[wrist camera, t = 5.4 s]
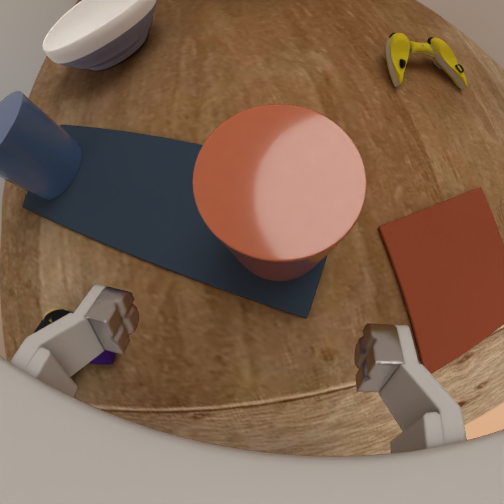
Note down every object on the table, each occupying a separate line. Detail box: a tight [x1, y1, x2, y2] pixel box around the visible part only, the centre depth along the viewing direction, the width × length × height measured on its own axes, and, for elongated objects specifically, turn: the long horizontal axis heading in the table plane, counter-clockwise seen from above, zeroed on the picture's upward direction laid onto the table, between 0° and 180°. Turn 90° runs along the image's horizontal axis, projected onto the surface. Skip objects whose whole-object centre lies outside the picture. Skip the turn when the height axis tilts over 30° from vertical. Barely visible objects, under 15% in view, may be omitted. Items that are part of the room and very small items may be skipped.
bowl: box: [42, 0, 156, 70], centre depth 23 cm, size 14×14×8 cm
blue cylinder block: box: [0, 91, 82, 200], centre depth 18 cm, size 7×7×10 cm
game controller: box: [385, 33, 467, 89], centre depth 21 cm, size 10×6×4 cm, turn 102°
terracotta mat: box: [378, 187, 504, 373], centre depth 18 cm, size 12×12×1 cm
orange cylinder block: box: [193, 104, 367, 281], centre depth 15 cm, size 7×7×10 cm
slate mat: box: [22, 125, 327, 318], centre depth 22 cm, size 30×10×1 cm, turn 71°
